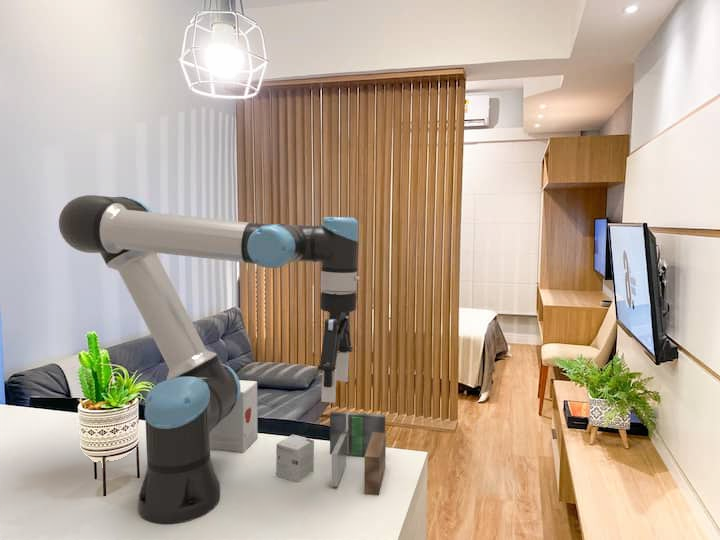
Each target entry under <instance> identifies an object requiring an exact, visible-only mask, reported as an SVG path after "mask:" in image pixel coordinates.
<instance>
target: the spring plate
mask: <svg viewBox="0 0 720 540" xmlns="http://www.w3.org/2000/svg"><path fill="white" fill-rule="evenodd" d="M348 413H349V412H347V413H346V428H345V430H344V432H343V434H341V435H340V437H339V439H338V441H337V443H336V446H335V448H334V450H333V452H332V454H331V487H338V485H339V483H340V482H341V478H342V475H343V473H344V471H345V468H346V465H347V455H346V436H347V434H348V432H349V414H348Z"/></svg>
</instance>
